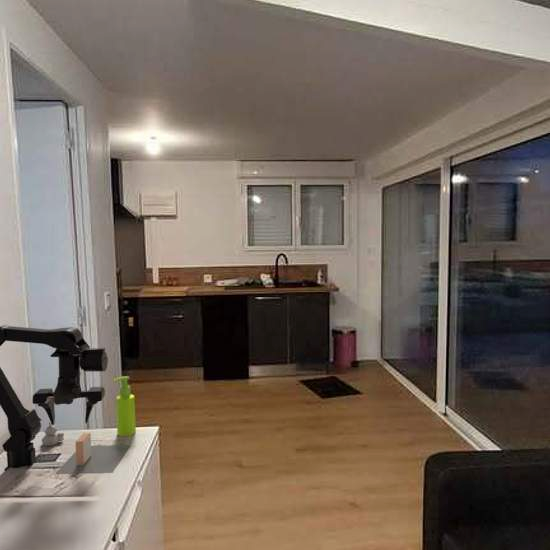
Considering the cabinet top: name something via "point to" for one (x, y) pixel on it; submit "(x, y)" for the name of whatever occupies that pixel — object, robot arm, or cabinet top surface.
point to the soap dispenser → (125, 409)
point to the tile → (83, 448)
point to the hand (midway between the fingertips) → (70, 423)
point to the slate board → (96, 460)
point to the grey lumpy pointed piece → (52, 436)
